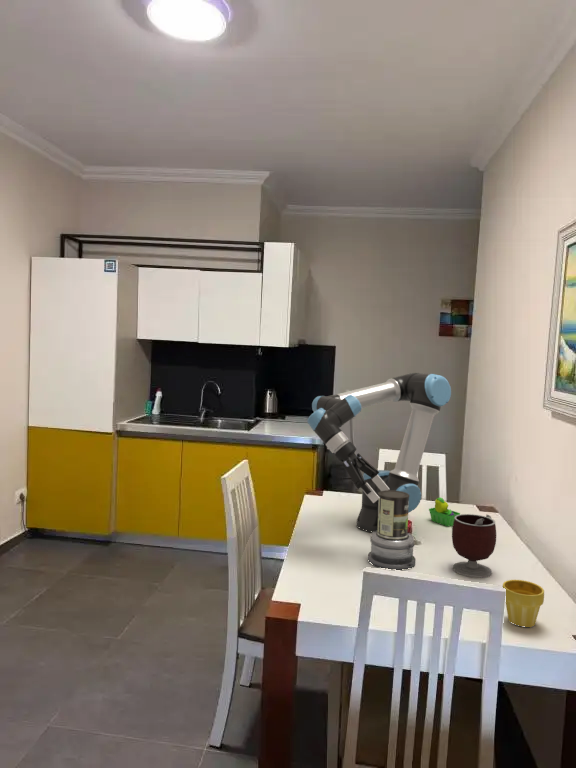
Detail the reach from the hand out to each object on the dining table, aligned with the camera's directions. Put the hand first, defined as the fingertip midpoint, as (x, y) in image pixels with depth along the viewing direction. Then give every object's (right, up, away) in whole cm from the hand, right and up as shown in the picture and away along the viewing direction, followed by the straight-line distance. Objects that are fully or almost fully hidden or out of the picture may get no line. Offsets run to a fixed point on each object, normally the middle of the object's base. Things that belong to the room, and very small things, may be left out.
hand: (381, 496), depth 199 cm
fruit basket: (+33, -20, +47) cm, 61 cm away
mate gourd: (+29, -24, -6) cm, 38 cm away
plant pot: (+31, -26, -42) cm, 58 cm away
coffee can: (+3, -13, 0) cm, 14 cm away
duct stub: (+3, -22, 0) cm, 22 cm away
